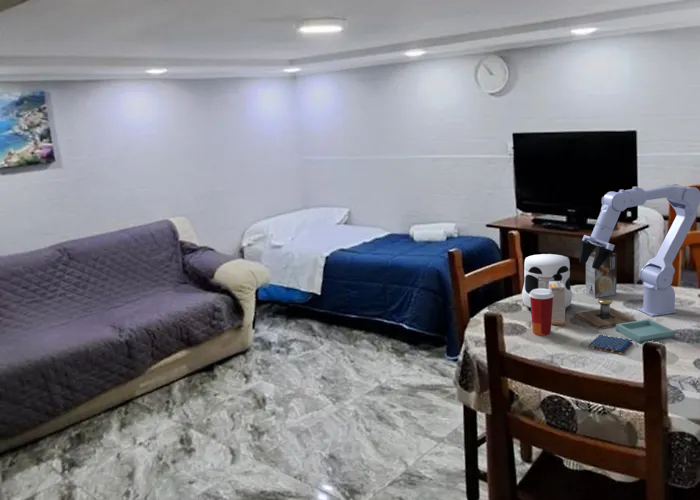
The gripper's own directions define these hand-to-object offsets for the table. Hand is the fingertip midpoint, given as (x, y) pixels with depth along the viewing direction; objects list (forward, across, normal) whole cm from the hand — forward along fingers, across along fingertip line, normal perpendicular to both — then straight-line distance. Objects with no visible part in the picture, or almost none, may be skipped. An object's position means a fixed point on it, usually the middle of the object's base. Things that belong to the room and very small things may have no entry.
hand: (588, 266), depth 214 cm
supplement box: (+21, -5, 0) cm, 22 cm away
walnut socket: (+15, 0, +14) cm, 20 cm away
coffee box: (+10, -24, +27) cm, 37 cm away
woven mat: (+21, +21, +3) cm, 30 cm away
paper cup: (+26, +3, -9) cm, 27 cm away
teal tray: (+14, +16, +17) cm, 27 cm away
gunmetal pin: (+15, 0, +14) cm, 21 cm away
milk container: (+20, -19, +4) cm, 28 cm away
